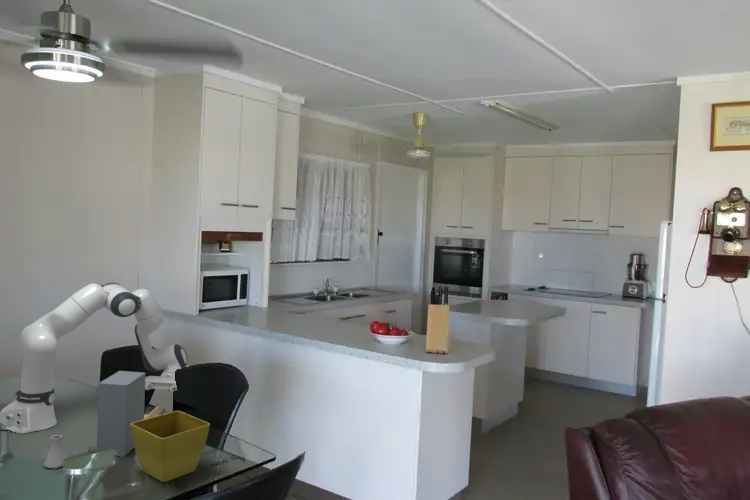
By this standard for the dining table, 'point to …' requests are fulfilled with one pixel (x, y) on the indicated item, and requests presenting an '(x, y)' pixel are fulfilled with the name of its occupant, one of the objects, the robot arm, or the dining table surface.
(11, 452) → the dining table surface
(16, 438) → the dining table surface
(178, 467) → the flower pot
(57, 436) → the flask
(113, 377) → the grey post
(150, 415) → the oak paddle board
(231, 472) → the dining table surface
